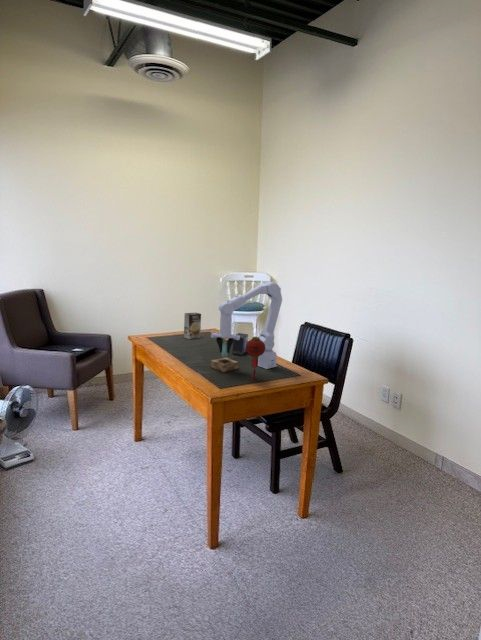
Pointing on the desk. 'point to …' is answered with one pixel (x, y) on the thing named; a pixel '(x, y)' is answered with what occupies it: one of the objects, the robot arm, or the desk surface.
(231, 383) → the desk surface
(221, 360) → the socket block
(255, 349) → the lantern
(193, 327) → the coffee box
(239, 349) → the small box
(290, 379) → the desk surface
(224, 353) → the peg
